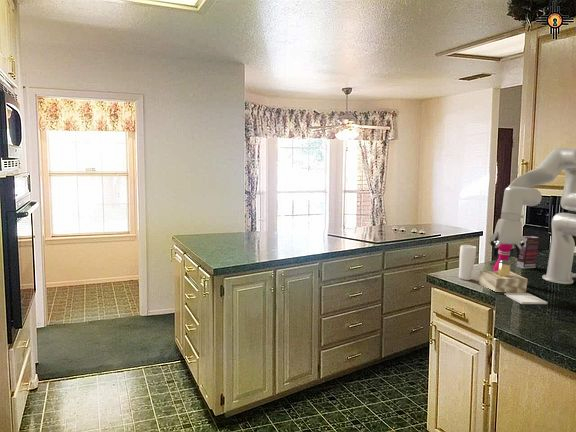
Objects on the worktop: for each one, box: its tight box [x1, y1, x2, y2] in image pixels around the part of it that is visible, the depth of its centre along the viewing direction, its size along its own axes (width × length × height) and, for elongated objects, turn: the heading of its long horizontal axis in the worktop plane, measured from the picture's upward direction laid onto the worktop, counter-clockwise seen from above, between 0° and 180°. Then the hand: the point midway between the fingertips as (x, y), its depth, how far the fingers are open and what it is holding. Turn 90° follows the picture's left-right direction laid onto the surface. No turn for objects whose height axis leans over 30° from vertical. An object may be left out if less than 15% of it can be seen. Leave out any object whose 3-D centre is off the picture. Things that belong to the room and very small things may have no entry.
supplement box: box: [516, 235, 540, 269], centre depth 241 cm, size 9×5×16 cm, turn 111°
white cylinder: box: [458, 244, 477, 281], centre depth 211 cm, size 7×7×15 cm
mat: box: [503, 292, 549, 305], centre depth 187 cm, size 11×11×1 cm
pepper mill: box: [492, 244, 513, 272], centre depth 213 cm, size 7×7×20 cm
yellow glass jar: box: [498, 259, 512, 277], centre depth 199 cm, size 4×4×12 cm
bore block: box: [478, 270, 529, 293], centre depth 200 cm, size 14×12×6 cm
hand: (504, 257), depth 198 cm, fingers open, 9 cm apart
